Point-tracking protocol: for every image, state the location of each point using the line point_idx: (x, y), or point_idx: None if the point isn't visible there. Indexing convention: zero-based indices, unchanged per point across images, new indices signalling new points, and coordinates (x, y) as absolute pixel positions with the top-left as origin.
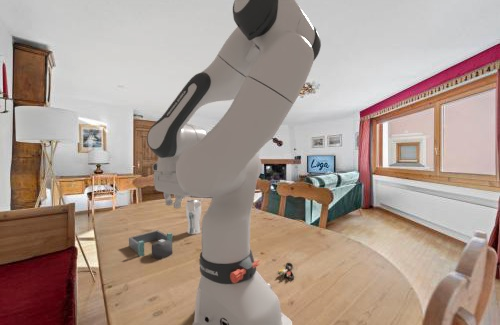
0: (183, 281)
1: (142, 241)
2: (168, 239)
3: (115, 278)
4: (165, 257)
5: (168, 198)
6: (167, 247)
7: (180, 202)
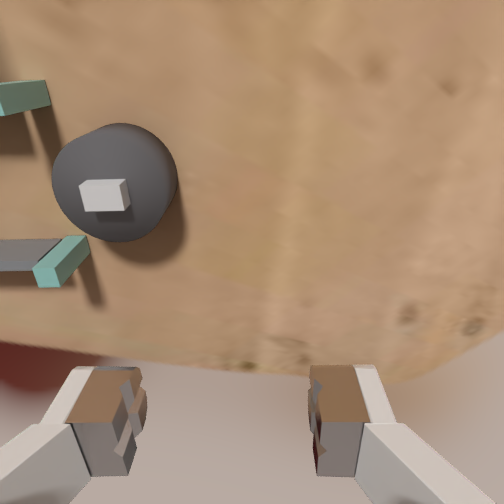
0: (418, 217)
1: (49, 272)
2: (23, 110)
3: (212, 348)
4: (177, 179)
5: (53, 475)
6: (165, 182)
7: (396, 424)
